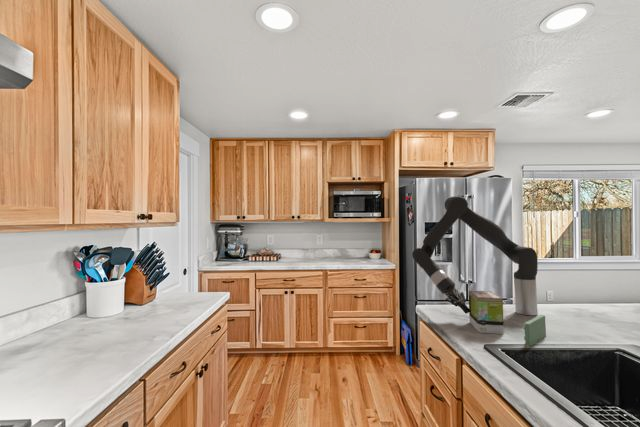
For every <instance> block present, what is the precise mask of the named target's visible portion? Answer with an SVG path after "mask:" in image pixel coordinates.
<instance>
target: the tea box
mask: <svg viewBox="0 0 640 427" xmlns="http://www.w3.org/2000/svg"><path fill="white" fill-rule="evenodd" d="M468 308H469V309H470V312H469V313H468V314H469V316H468V317H469V318H468V319H469V323H470V324H471V325H472V326H473V327H474V328H475V330H476V331H477V332H478V333H481V334H494V335H495V334H500V335H501V334H502V335H504V334H505V328H504V327H505V326H504V325H505V324H504V322H505V321H504V298H503V297H502V296H499V295H498V294H497V293H495V292H493V291H490V290H489V291H488V290H487V291H486V290H468Z"/></svg>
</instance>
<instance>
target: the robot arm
mask: <svg viewBox="0 0 640 427" xmlns="http://www.w3.org/2000/svg"><path fill="white" fill-rule="evenodd" d="M468 206H469V203H468V201H467V199H466V198H465V197H463V196H460V195H459V196H458V195H457V196H450V197H448V198H447V199H446V200H445V201H444V208H445V213H444V215H443V216H442V218H441V219H440V220H439V221H438V222H437V223H435V225H433V227H431V229H430V230H429V231H428V233H427V234H426V236H425V237H424V238H423V240H422V246H421V248H420V247H417V248H415V249H413V251H412V255H411V256H412V258H413V260H414V261H415V263H416V264H418V266H419V267H420V268H421V269H422V270H423V271H424V272H425V273H426V275H427V276H428V277H429V279H430V280H431V281H432V283H433V284H434V285H435V287H436V288H437V289H438V290H439V292H440V293H441V294H445V296H446V297H445V300H446V301H447V302H449V303H450V304H452V305H453V306H455V307H458V308H460V309H461V310H462V312H464V314H469V312H470V309H469V306H467V304H466V302H467V299H466V297H465V294H464V292H463V291H461V292H459V290H458V289H456V283H455V282H454V281H453V280H452V279H451V278H450V277H449V275H448V274H447V273H446V272H445V271H444V270H443V269H442V268H441V267H440V266H439V264H437V263H436V262H435V261H434V260H433V259H432V258H431V257H432V256H433V253H434V251H435V249H436V247H438V245H439V244H440V242H441V241H442V239H443V238H444V236H445V235H446V233H447V232H448V231H449V230H450V229H451V227H452V226H453V225H454V224H455V223H456V222H457V221H458V220H460V221H462V222H463V223H464V224H465V225H467V226H468V227H469V228H471V229H472V230H473V231H474V232H475V233H476V234H477V235H479V236H480V237H481V238H483V239H484V240H486V241H487V242H488V243H490V244H491V245H492V246H494V247H496V248H497V249H498V250H499V251H501V252H502V253H503V254H504V255H505V256H506V257H507V258H508V259H509V260H511V262H512V263H515V264H517V265H518V269H517V270H516V271H514V272H513V283H514V284H513V286H514V287H513V288H514V306H515V313H516V314H519V315H523V316H539V315H538V295H537V280H536V279H537V274H538V264H539V263H538V262H539V261H538V255H537V251H536V250H535V249H534V248H532V247H529V246H521V245H519V244H517V243H515V242H513V241H512V240H511V239H510V238H509V237H508V236H507V235H506V233H505V231H504V230H503V229H502V228H501V227H500V226H499V225H498V224H497V223H496V222H494V221H493V220H491V219H490V218H488V217H486V216H484V215H482V214H480V213H478V212H476V211H474V210H473V209H471V208H470V207H468Z"/></svg>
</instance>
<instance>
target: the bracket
mask: <svg viewBox="0 0 640 427" xmlns="http://www.w3.org/2000/svg"><path fill="white" fill-rule="evenodd" d="M523 324H524V325H523V330H524V336H523V340H524V342H525V346H526V345H527V347H532V346H533V345H535V344H536V343H538V342H539V341H541V340H542V339H544V338H545V337H547V330H546V329H547V328H546V326H547V325H546V315H544V314H539V315H536V317H534V318H532V319H529V320H528V321H526V322H524V323H523Z"/></svg>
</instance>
